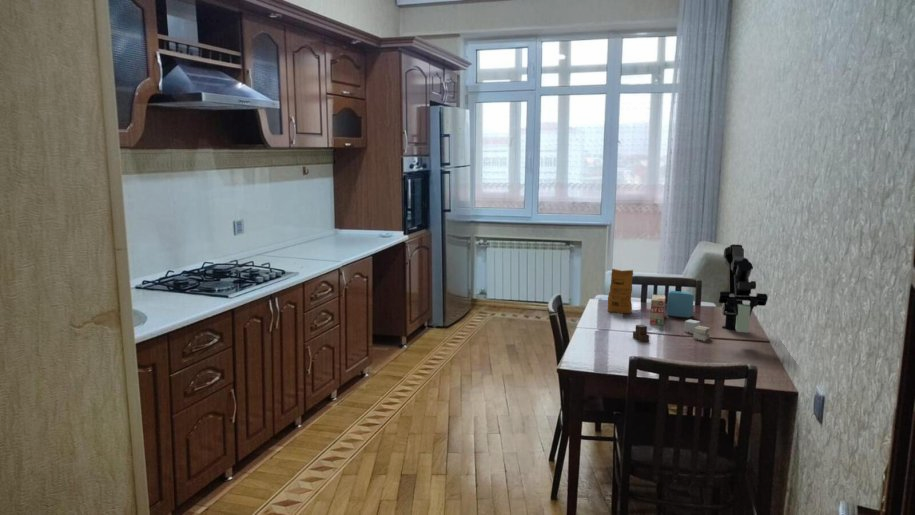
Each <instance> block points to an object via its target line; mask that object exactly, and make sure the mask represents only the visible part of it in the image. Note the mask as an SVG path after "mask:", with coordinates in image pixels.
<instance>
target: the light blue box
mask: <svg viewBox="0 0 915 515" xmlns="http://www.w3.org/2000/svg"><path fill="white" fill-rule="evenodd" d="M694 295H695V294H694V293H693V292H689V291H688V292H687V291H679V290H678V291H677V290H671V291H669V292H668V294H667V305H666V313H667V315H668V317H669V316H671V317H680V318H688V319H689V318H692V316H693V315H694V314H693V312H694V297H695V296H694Z"/></svg>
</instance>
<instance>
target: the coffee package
mask: <svg viewBox="0 0 915 515" xmlns="http://www.w3.org/2000/svg"><path fill="white" fill-rule="evenodd" d="M610 276H611V277H610V278H611V279H610V285H609V293H608V296H607V312H608V311H610V312H609V313H618V314H631V312H632V311H633V306H632V293H633V277H634V270H633V269H628V270H620V269H615V268H612V270H611V274H610Z"/></svg>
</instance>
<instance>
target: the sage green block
mask: <svg viewBox="0 0 915 515" xmlns="http://www.w3.org/2000/svg"><path fill="white" fill-rule="evenodd" d="M737 308H738V315H736V327H735V329H736V330H735V331H736V332H737V333H749V330H750V317H751V315H750V306H749V304H744V303H743V304H737Z"/></svg>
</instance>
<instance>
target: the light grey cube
mask: <svg viewBox="0 0 915 515" xmlns="http://www.w3.org/2000/svg"><path fill="white" fill-rule="evenodd" d="M697 326H701V320H694V319H687V320H685V321H684V327H683V328H684V329H683V330H684V331H683V332H684V333H688V332H689V333H690V334H693V335H694V328H695V327H697ZM689 333H688V334H689Z"/></svg>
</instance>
